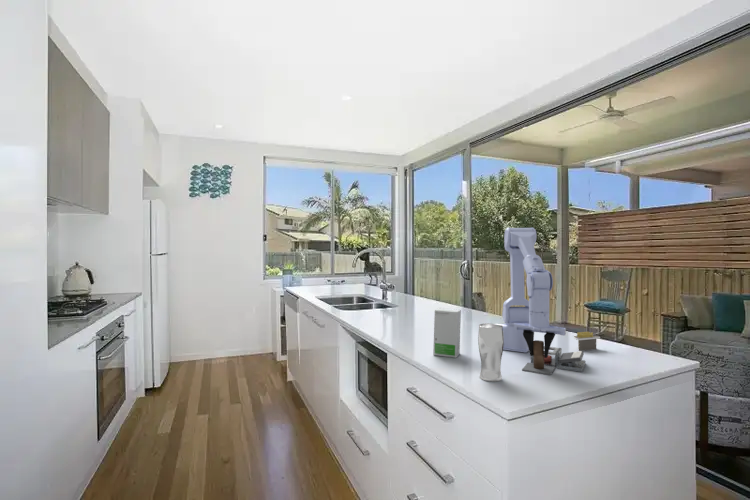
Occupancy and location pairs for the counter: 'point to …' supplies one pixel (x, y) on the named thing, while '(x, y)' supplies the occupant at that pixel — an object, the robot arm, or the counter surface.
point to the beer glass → (491, 351)
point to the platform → (586, 341)
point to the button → (548, 359)
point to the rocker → (571, 357)
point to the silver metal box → (567, 366)
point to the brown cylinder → (538, 354)
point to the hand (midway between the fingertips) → (538, 356)
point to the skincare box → (447, 332)
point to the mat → (546, 370)
